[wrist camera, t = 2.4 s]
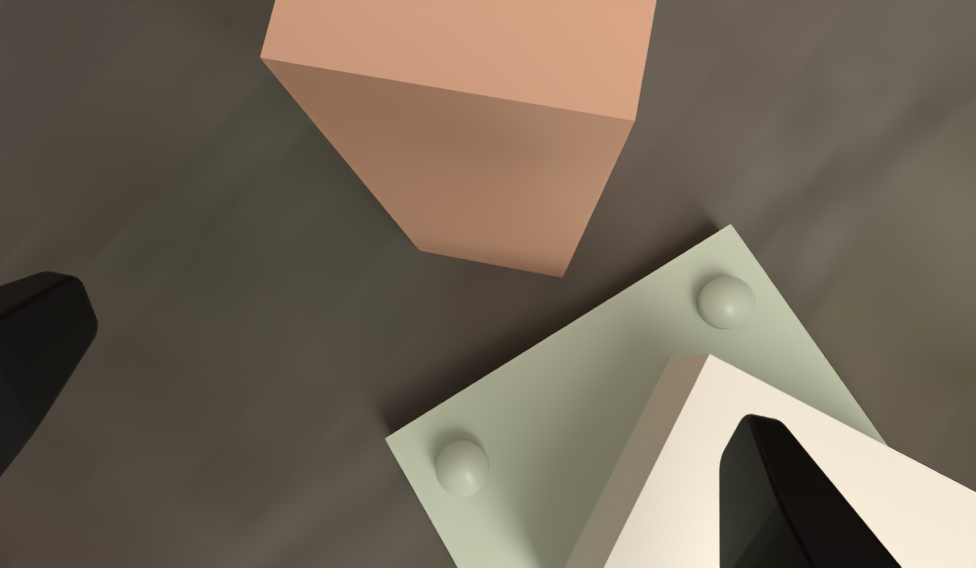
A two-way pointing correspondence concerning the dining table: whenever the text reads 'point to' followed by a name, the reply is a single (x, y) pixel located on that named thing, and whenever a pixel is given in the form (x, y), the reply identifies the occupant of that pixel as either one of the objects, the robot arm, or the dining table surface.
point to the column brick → (471, 111)
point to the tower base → (591, 400)
